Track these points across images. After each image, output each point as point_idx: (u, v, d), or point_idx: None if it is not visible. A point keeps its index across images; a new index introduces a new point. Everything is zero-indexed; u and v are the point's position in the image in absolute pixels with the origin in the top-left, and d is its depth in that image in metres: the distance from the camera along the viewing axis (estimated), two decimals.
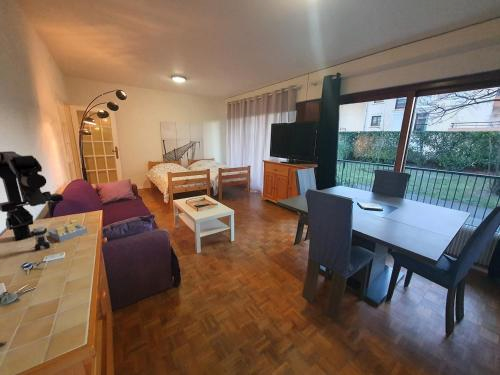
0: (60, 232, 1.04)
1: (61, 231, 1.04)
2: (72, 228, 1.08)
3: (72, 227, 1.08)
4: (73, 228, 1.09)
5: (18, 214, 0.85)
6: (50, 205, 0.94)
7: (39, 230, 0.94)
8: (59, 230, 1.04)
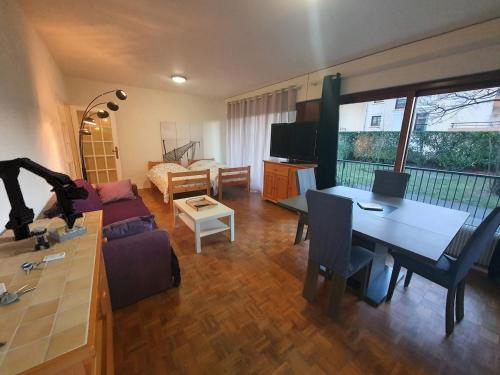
0: (60, 232, 1.04)
1: (61, 231, 1.04)
2: None
3: None
4: None
5: (64, 220, 1.06)
6: None
7: (39, 230, 0.94)
8: (59, 230, 1.04)
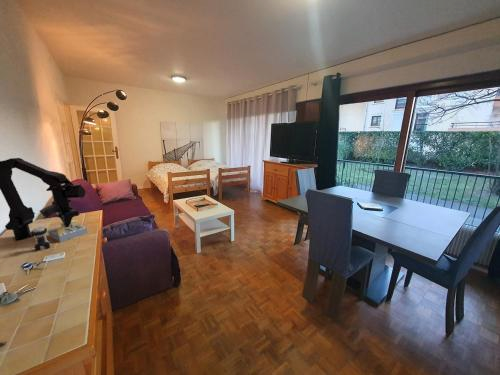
0: (60, 232, 1.04)
1: (61, 231, 1.04)
2: None
3: None
4: None
5: (61, 219, 1.08)
6: None
7: (39, 230, 0.94)
8: (59, 230, 1.04)
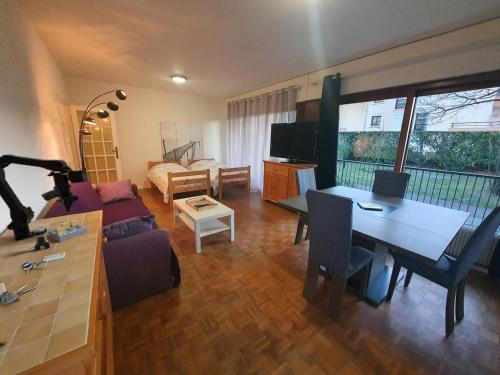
0: (60, 232, 1.04)
1: (61, 231, 1.04)
2: (67, 226, 1.11)
3: (67, 225, 1.11)
4: (68, 226, 1.11)
5: (62, 204, 1.12)
6: None
7: (39, 230, 0.94)
8: (59, 230, 1.04)
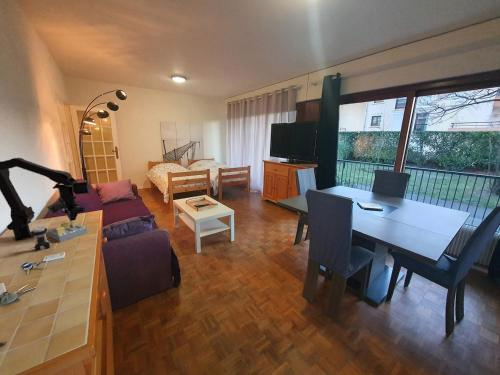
0: (60, 232, 1.04)
1: (61, 231, 1.04)
2: (67, 226, 1.11)
3: (67, 225, 1.11)
4: (68, 226, 1.11)
5: (67, 215, 1.14)
6: None
7: (39, 230, 0.94)
8: (59, 230, 1.04)
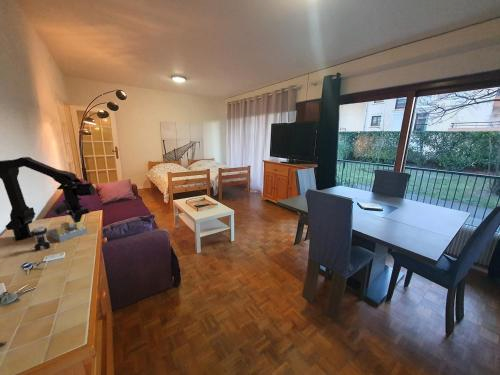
0: (60, 232, 1.04)
1: (61, 231, 1.04)
2: (67, 226, 1.11)
3: (67, 225, 1.11)
4: (68, 226, 1.11)
5: (71, 216, 1.11)
6: None
7: (39, 230, 0.94)
8: (59, 230, 1.04)
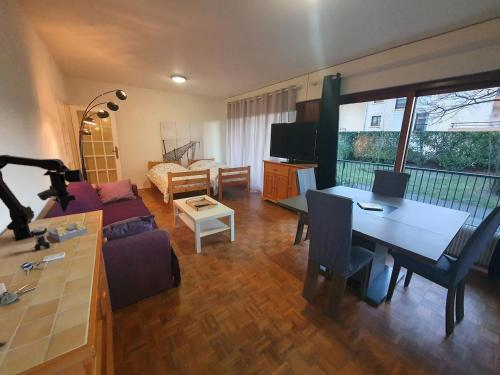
0: (60, 232, 1.04)
1: (61, 231, 1.04)
2: (67, 226, 1.11)
3: (67, 225, 1.11)
4: (68, 226, 1.11)
5: (58, 203, 1.11)
6: None
7: (39, 230, 0.94)
8: (59, 230, 1.04)
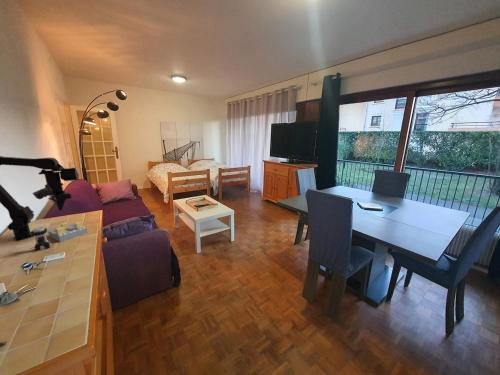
0: (60, 232, 1.04)
1: (61, 231, 1.04)
2: (67, 226, 1.11)
3: (67, 225, 1.11)
4: (68, 226, 1.11)
5: (54, 202, 1.11)
6: None
7: (39, 230, 0.94)
8: (59, 230, 1.04)
